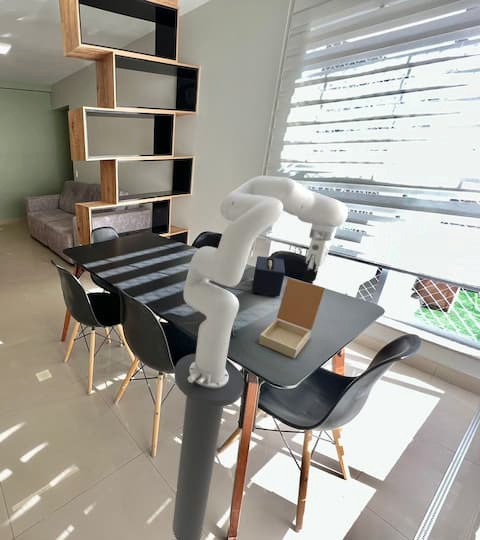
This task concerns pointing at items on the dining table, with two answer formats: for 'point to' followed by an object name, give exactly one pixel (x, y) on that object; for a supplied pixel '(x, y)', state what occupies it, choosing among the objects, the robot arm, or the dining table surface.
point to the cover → (300, 303)
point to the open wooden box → (284, 338)
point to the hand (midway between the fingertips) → (310, 279)
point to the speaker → (268, 276)
